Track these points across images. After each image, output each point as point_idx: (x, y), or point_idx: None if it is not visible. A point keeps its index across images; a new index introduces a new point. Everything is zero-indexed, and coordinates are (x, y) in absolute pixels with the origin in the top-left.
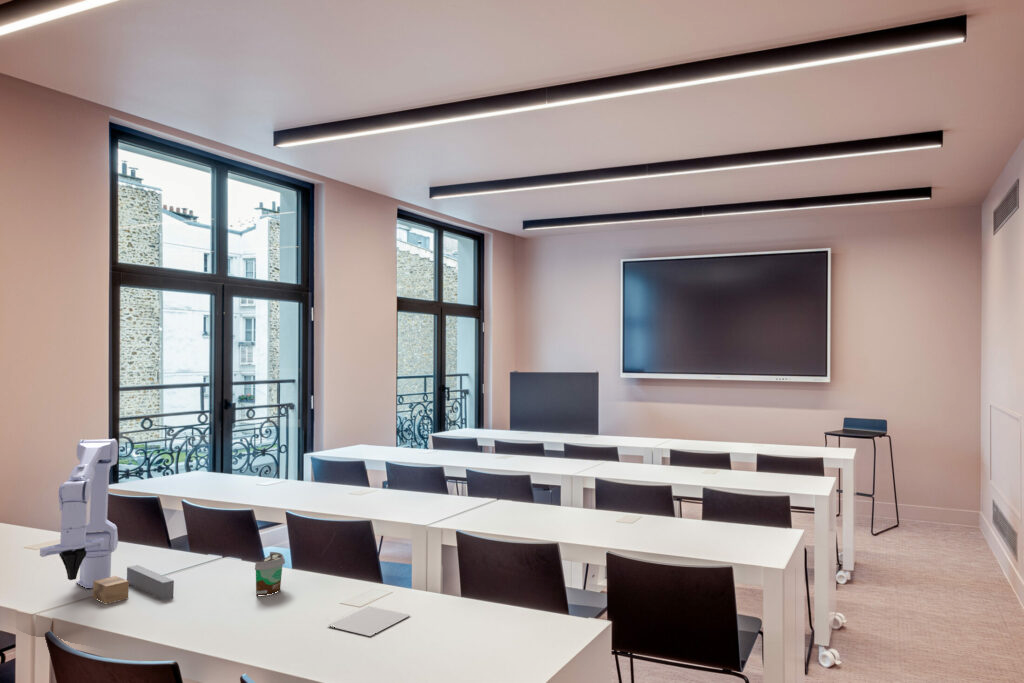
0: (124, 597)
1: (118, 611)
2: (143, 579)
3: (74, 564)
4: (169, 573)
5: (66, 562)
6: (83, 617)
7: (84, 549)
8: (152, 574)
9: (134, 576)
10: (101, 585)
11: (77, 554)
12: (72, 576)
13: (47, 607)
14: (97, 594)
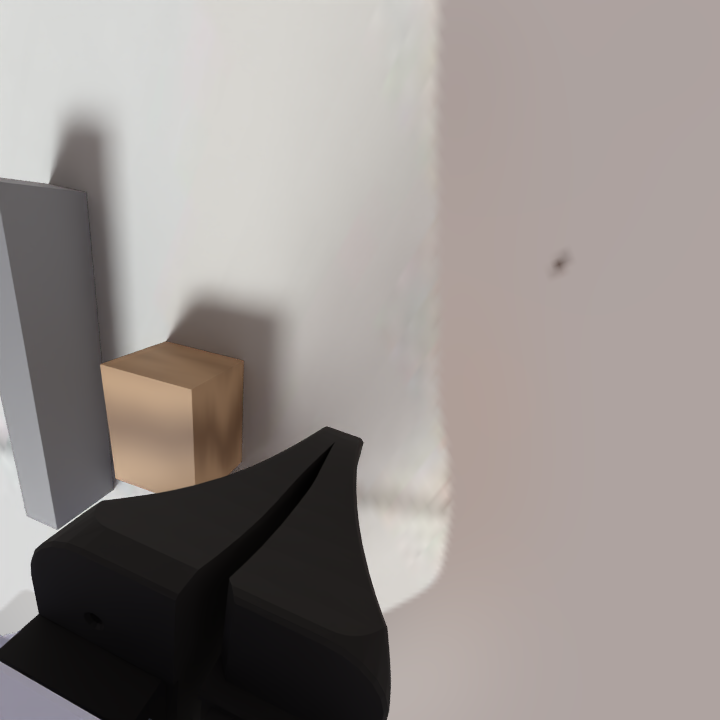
0: (173, 346)
1: (255, 216)
2: (58, 388)
3: (280, 519)
4: (3, 443)
5: (362, 577)
6: (380, 284)
7: (27, 638)
8: (8, 359)
9: (73, 459)
10: (197, 432)
11: (188, 576)
12: (343, 444)
13: (381, 522)
14: (228, 440)
